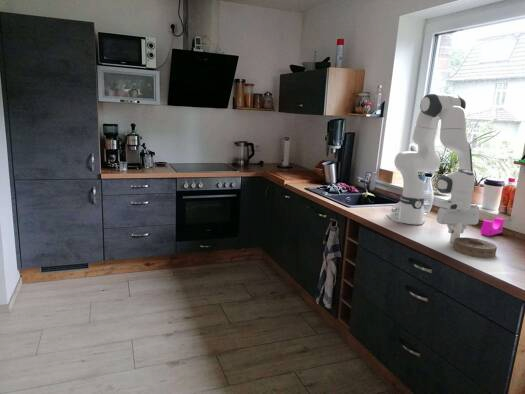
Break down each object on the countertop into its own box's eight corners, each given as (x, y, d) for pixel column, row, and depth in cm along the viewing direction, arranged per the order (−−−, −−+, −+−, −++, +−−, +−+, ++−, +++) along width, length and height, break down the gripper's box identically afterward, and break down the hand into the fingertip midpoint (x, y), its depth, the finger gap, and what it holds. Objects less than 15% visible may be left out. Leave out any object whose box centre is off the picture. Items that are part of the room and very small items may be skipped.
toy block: (489, 229, 216) (492, 216, 215) (501, 232, 211) (504, 219, 210) (476, 232, 208) (478, 219, 206) (488, 236, 203) (491, 222, 201)
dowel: (447, 241, 188) (450, 220, 186) (455, 241, 189) (458, 221, 187) (453, 243, 184) (456, 223, 182) (460, 243, 185) (464, 223, 183)
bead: (446, 245, 180) (447, 237, 180) (476, 245, 184) (477, 237, 183) (470, 258, 165) (472, 249, 164) (503, 257, 168) (505, 248, 167)
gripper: (474, 203, 188) (470, 231, 191) (436, 202, 184) (432, 231, 187) (484, 206, 182) (479, 234, 185) (445, 205, 178) (441, 235, 181)
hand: (455, 233), depth 186 cm, fingers closed on dowel, 4 cm apart
